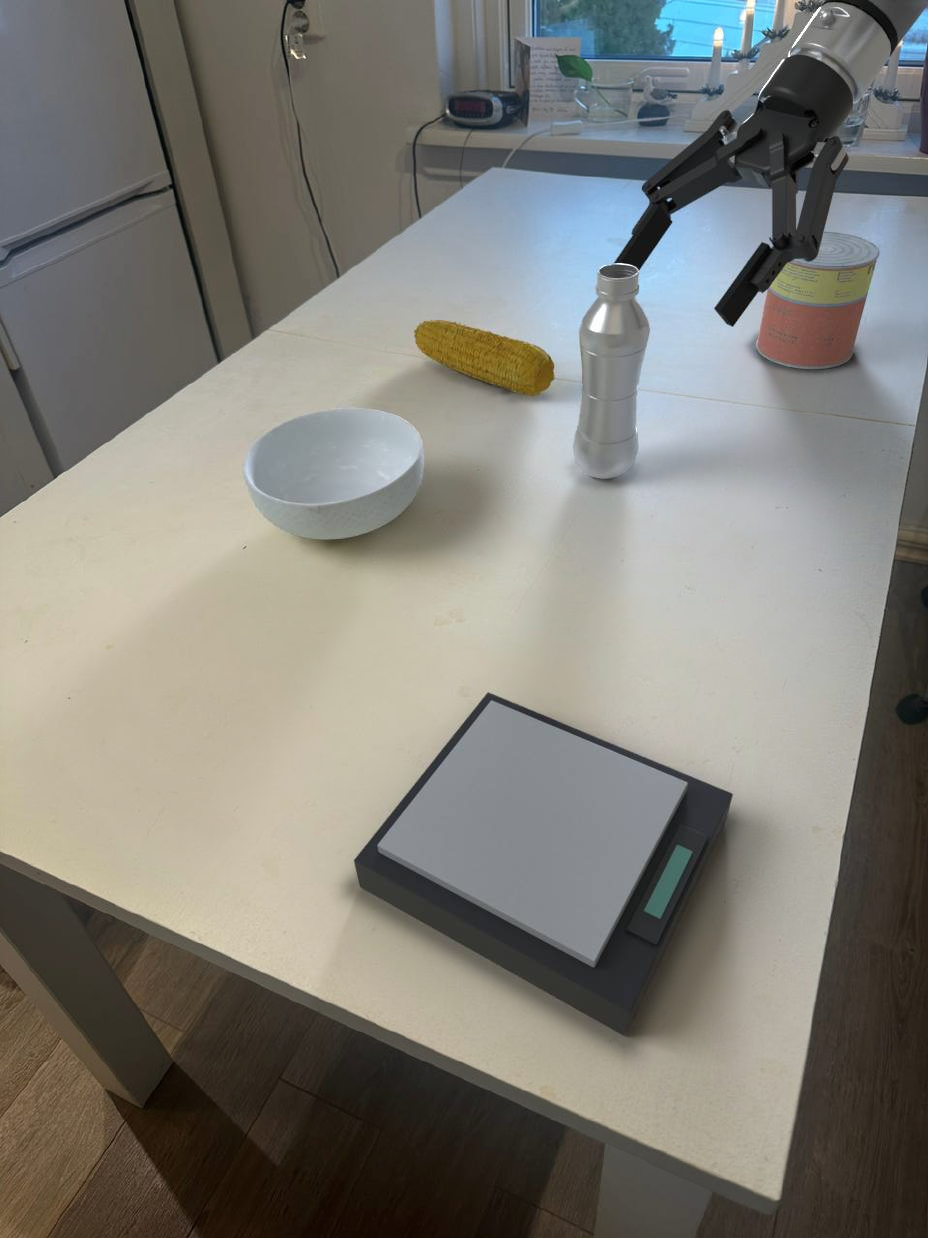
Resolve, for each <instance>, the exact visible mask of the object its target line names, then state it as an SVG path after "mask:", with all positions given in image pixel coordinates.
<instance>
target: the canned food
mask: <svg viewBox="0 0 928 1238" xmlns="http://www.w3.org/2000/svg"><path fill="white" fill-rule="evenodd" d="M879 257H880V249H879V247H878V246H877V245H876V244H875V243H873V242H872V241H870V240H868V239H865V238H863V237H860V236H856V235H852V234H848V233H842V232H834V231H824V232H823V236H822V240H821V244H820V248H819V252H818V255H817V257H816V258H815V259H814V260H813V261H810V262H807V261H805V260H804V259H793V260H792V261H791V262H788V263H787V264H786V265H785V266H784V268H783V269H782V271H781V272H780V273H779V275H778V276H777V277H776V278H775V280H774V281H773V282H772V284H771V286H770V287H769V288H768V289H767V290H766V294H765V298H764V299H765V300H764V304H763V310H762V313H761V314H762V315H761V320H760V326H759V331H758V336H757V340H756V343H755V349H756V351H757V352H758V353H759V354H760V355H761V356H762V357H763V358H764V359H766V360H768V361H770V362H772V363H775V364H777V365H781V366H783V367H788V368H793V369H799V370H800V369H801V370H824V369H825V370H826V369H831V368H836V367H838V366H841V365H844V364H845V363H847V362H849V361H850V360H851V358H852V357H853V354H854V347H855V342H856V339H857V336H858V331H859V328H860V325H861V320H862V317H863V313H864V310H865V306H866V302H867V299H868V298H867V297H868V295H869V290H870V288H871V287H870V286H871V283H872V279H873V275H874V272H875V268H876V265H877V262H878V261H877V260H878V258H879Z"/></svg>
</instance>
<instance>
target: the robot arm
mask: <svg viewBox="0 0 928 1238" xmlns="http://www.w3.org/2000/svg"><path fill="white" fill-rule="evenodd" d="M927 7H928V0H823V1H822V3H820V6H819V7H818V9H817V10H816V11H815V13H814V14H813V16H812V17H811V19H810V20H809V22H808V23H807V24H806V25H805V27H804V29H803V30H802V32H801V33H800V35H799V36H798V37H797V39H796V40H795V42H794V44H793V45H792V47H791V48H790V50H789V52H788V56H787V57H784V58H783V59H782V60H781V62H780V63H779V64H778V65H777V67H776V69H775V70H774V72H773V73H772V74H771V76H770V78H769V79H768V80H767V81H766V83H765V85H764V86H763V88H761V91H760V92H759V95H758V100H757V104H756V108H755V110H754V112H753V113H752V114H751V115H750V117H748V118H747V119H746V120H745V121H741V120H738V119H736V118H734V116H733V114H732V113H731V111H730V110H729V109H725V110H722V111H721V113H719V115H718V116H717V117H716V118H715V119H714V121H713V122H712V124H711V125H709V127H708V129H706V131H705V132H703V133H702V134H701V135H700V136H699V137H697V138H696V139H695V140H693V141H692V142H691V143H690V144H689V145H687V146H686V147H685V148H684V149H683V150H682V151H680V152H679V153H678V154H677V155H675V156H674V157H673V158H672V159H671V160H670V161H669V162H667V163H666V164H665V165H664V166H663V167H661V168H660V169H659V170H658V171H657V172H655V173H654V174H653V175H651V176H650V177H649V178H648V179H647V180H646V181H645V182H644V183H642V185H641V191H642V193H643V194H644V195H645V196H646V198H647V199H648V206H647V207H646V209H645V210H644V212H643V213H642V214H641V216H640V217H639V219H638V220H637V222H636V224H634V226H633V228H632V230H631V233H630V234H631V237H630V238H629V240H628V241H627V243H626V244H625V246H624V247H623V249H622V250H621V252H620V253H619V255H618V256H617V258H615V260H614V262H613V263H612V264H629V265H632V266H635V267H637V268H638V270H639V271H640V270H641V269H642V267H643V266H644V265H645V263H646V262H647V260H648V259H649V257H650V256H651V254H652V253H653V252H654V250H655V249H656V247H657V246H658V244H659V243H660V241H661V240H662V238H663V237H664V236H665V234H666V233H667V231H668V230H669V228H670V227H671V225H672V224H673V220H672V216H671V215H673V214H675V213H676V212H678V211H680V210H681V209H683V208H685V207H687V206H689V205H690V204H692V203H694V202H696V201H697V200H699V199H701V198H702V197H704V196H706V195H708V194H709V193H711V192H713V191H715V190H716V189H718V188H720V187H721V186H723V185H725V184H727V183H729V184H734V183H736V182H739V181H740V180H742V179H743V181H745V182H748V183H759V184H760V185H761V186H762V187H765V188H768V189H770V188H771V205H772V206H771V236H769V237H768V239H769V242H770V243H771V244H772V247H771V246H770V244H769V243H766V242H764V241H761V242H760V244H759V245H758V246H757V248H756V249H755V251H754V252H753V253H752V255H751V256H750V257H749V259H748V261H747V262H746V263H745V265H744V266H743V268H741V270H740V271H739V272H738V274H737V276H736V277H735V278H734V280H733V282H732V283H731V284H730V286H729V287H728V288H727V290H726V291H725V292H724V294H723V295H722V297H721V298H720V299H719V301H718V302H717V303H716V305H715V306H714V308H713V309H714V310H715V312H716V313H717V314H718V316H719V317H720V318H721V319H722V321H723V322H724V323H725V324H726V325H728V326H730V327H732V328H733V327H734V326H735V325H736V324H737V322H738V321H739V319H740V318H741V317H742V315H743V314H744V313H745V311H746V310H747V309H748V307H749V305H750V304H752V301H753V300H754V299H755V297H756V296H757V295H758V293H761V294H763V293H765V292H767V289H768V288H769V287H770V286H771V284H772V282H773V281H774V280H775V278H776V277H777V276H778V275H779V273H780V272H781V271H782V269H783V268H784V266H785V265H786V264H787V263H788V262H791V261H792V260H793V259H804V260H805V261H807V262H810V261H813V260H814V259H815V258H816V257H817V255H818V252H819V248H820V244H821V240H822V236H823V232H825V229H826V224H827V220H828V216H829V213H830V208H831V204H832V200H833V196H834V192H835V188H836V183H837V181H838V179H839V177H840V175H841V174H842V172H843V170H844V169H845V167H846V166H847V164H848V162H849V160H850V159H849V155H848V153H847V151H846V148H845V146H844V144H843V142H842V140H841V138H840V137H839V136H837V135H836V133H837V132H838V131H839V129H840V128H841V127H842V125H843V124H844V123H845V121H846V119H847V118H848V117H849V115H850V114H851V112H852V111H853V110H854V109H853V108H854V105H855V104H858V103H859V101H861V99H862V98H863V97H864V95H865V94H866V92H867V91H868V89H869V88H870V87H871V85H872V84H873V83H874V81H875V79H876V78H877V77H878V75H879V74H880V72H881V71H882V69H884V67H885V65H886V63H887V62H888V61H889V59H890V58H891V56H893V53H894V52H895V50H896V49H897V47H898V46H899V44H900V43H901V42H902V40H903V39H904V38H905V37H906V35H907V34H908V32H909V31H910V29H911V28H912V27H913V26H914V25H915V23H916V22H917V21H918V19H919V18H920V17H921V15H922V14H923V12H924V11H925V10H926V9H927ZM733 157H734V159H733V160H734V161H733V162H734V164H733V162H732V161H731V158H733ZM811 164H813V165H812V168H811V171H810V175H809V179H808V183H807V187H806V191H805V195H804V199H803V203H802V207H801V211H800V214H799V218H798V222H797V195H798V193H799V180H798V179H799V172H800V171H801V170H803V169H805V168H806V167H807V166H810V165H811ZM669 199H670V200H669ZM668 200H669V201H668Z"/></svg>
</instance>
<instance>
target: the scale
mask: <svg viewBox="0 0 928 1238" xmlns="http://www.w3.org/2000/svg"><path fill="white" fill-rule="evenodd" d="M432 760H433V761H432V762H431V763H430V764H429V765H428V766H427V768H426V769H425V770H424V771H423V773H422V774H421V775H420V777H419V778H418V779H417V781H416V782H415V783H414V784H413V785H412V787H411V788H410V789H409V790H408V792H407V793H406V794H405V795H404V797H403V798H402V799H401V800H400V802H398V804H397V806H395V807H394V809H393V811H392V812H391V813H390V814H389V816H388V817H387V818H386V819H385V821H384V822H383V823H382V824H381V826H380V827H379V828H378V829H377V830H376V832H375V833H374V834H373V836H372V837H371V838H370V839H369V840H368V842H367V843H366V845H365V846H363V848H362V849H361V851H360V852H358V854H357V855H356V857H355V858H354V859H353V863H354V868H355V872H356V876H357V880H358V885H359V887H360V888H361V889H363V890H365V891H366V892H368V893H370V894H371V895H374V896H376V898H379V899H380V900H382V901H384V902H386V903H388V904H389V905H392V906H393V907H395V908H396V909H398V910H400V911H402V912H404V913H405V914H407V915H409V916H411V917H412V918H414V919H416V920H417V921H419V922H422V923H423V924H425V925H427V926H429V927H430V928H432V929H434V930H436V931H437V932H439V933H441V934H443V935H444V936H446V937H448V938H450V939H451V940H453V941H455V942H457V943H459V944H461V946H464V947H466V948H467V949H469V950H471V951H473V952H475V953H476V954H478V955H480V956H482V957H484V958H485V959H487V960H489V961H491V962H492V963H494V964H496V965H498V966H500V967H501V968H503V969H505V970H506V971H508V972H510V973H512V974H514V975H515V976H518V977H519V978H521V979H523V980H524V981H526V982H527V983H530V984H531V985H533V986H535V987H536V988H538V989H540V990H541V991H544V992H546V993H547V994H549V995H551V996H552V997H555V998H556V999H558V1000H559V1001H561V1002H564V1003H565V1004H567V1005H568V1006H570V1007H572V1008H574V1009H576V1010H578V1011H579V1012H581V1013H582V1014H584V1015H586V1016H588V1017H590V1018H591V1019H594V1020H595V1021H597V1022H599V1023H600V1024H602V1025H604V1026H606V1027H608V1028H610V1029H611V1030H612V1031H615V1032H617V1033H619V1034H620V1035H622V1036H624V1037H626V1036H627V1034H628V1032H629V1030H630V1027H631V1025H632V1024H633V1021H634V1020H635V1017H636V1015H637V1013H638V1010H639V1009H640V1006H641V1004H642V1002H643V1000H644V998H645V995H646V994H647V991H648V989H649V988H650V985H651V983H652V981H653V978H654V976H655V974H656V972H657V970H658V968H659V965H660V964H661V961H662V959H663V957H664V955H665V953H666V951H667V949H668V946H669V944H670V942H671V940H672V938H673V935H674V933H675V931H676V928H677V927H678V925H679V923H680V920H681V918H682V916H683V914H684V912H685V910H686V908H687V905H688V903H689V901H690V899H691V897H692V895H693V893H694V890H695V888H696V887H697V884H698V882H699V880H700V878H701V875H702V873H703V871H704V869H705V867H706V865H707V862H708V861H709V858H710V856H711V854H712V852H713V850H714V848H715V846H716V844H717V842H718V839H719V837H720V835H721V833H722V831H723V828H724V827H725V824H726V822H727V818H728V815H729V811H730V807H731V803H732V799H733V795H734V794H733V793H732V792H729V791H727V790H725V789H723V788H720V787H718V786H716V785H712V784H710V783H708V782H706V781H704V780H701V779H699V778H696V777H693V776H691V775H689V774H686V773H684V772H681V771H679V770H676V769H674V768H672V767H670V766H667V765H664V764H663V763H660V762H658V761H655V760H653V759H650V758H648V757H646V756H643V755H641V754H639V753H636V752H633V751H632V750H629V749H626V748H624V747H621V746H619V745H617V744H614V743H612V742H609V741H607V740H605V739H602V738H600V737H597V736H595V735H592V734H590V733H587V732H585V731H583V730H581V729H578V728H575V727H573V726H571V725H569V724H566V723H564V722H561V721H559V720H556V719H554V718H552V717H549V716H547V715H545V714H543V713H539V712H537V711H535V710H532V709H530V708H528V707H525V706H523V705H520V704H518V703H516V702H514V701H511V700H508V699H506V698H503V697H501V696H499V695H496V694H493V693H492V692H489V691H488V692H487V693H485V695H484V697H483V698H482V699H481V700H480V701H479V702H478V704H477V705H476V706H475V708H474V709H473V710H472V711H471V712H470V714H469V715H468V716H467V718H466V719H465V720H464V722H463V723H462V724H461V725H460V726H459V728H458V729H457V730H456V731H455V732H454V734H453V735H452V736H451V737H450V739H449V740H448V741H447V742H446V744H445V745H444V746H443V748H442V749H441V750H440V751H439V752H438V754H437V755H436V757H434V759H432Z"/></svg>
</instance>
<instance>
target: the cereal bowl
mask: <svg viewBox="0 0 928 1238" xmlns="http://www.w3.org/2000/svg"><path fill="white" fill-rule="evenodd" d="M424 470H425V452H424V445H423V439H422V437H421V434H420V433H419V431H418V430H417V429H416V427H415V426H414V425H413V424H412V423H411V422H409V421H408V420H406V419H405V418H402V417H401V416H399V415H396V414H394V413H390V412H387V411H383V410H378V409H372V408H364V407H363V408H362V407H338V408H329V409H324V410H323V409H322V410H317V411H313V412H308V413H305V414H302V415H299V416H296V417H292V418H290V419H288V420H285V421H283V422H281V423H279V424H277V425H275V426H273V427H272V428H270V429H268V430H267V431H266V432H264V433H263V434H262V435H261V436H259V437H258V438H257V439H256V440H255V441H254V442H253V443H252V445H251V446H250V447H249V448H248V450H247V451H246V454H245V457H244V459H243V464H242V474H243V478H244V482H245V485H246V487H247V491H248V493H249V496H250V498H251V501H253V503H254V506H255V507H256V508H257V510H258V512H259V513H260V514H261V515H262V516H263V517H264V518H265V519H266V520H267V521H268V522H269V523H271V524H272V525H274V526H275V527H277V528H278V529H280V531H281V530H282V531H283V532H285V533H289V534H291V535H294V536H297V537H300V538H305V539H312V540H323V541H326V540H340V539H342V540H343V539H349V538H353V537H358V536H361V535H365V534H367V533H371V532H373V531H375V530H377V529H379V528H382V527H383V526H386V525H387V524H388V523H390V522H392V521H393V520H394V519H396V518H397V517H398V516H399V515H401V514H402V513H403V512H404V511H406V509H408V507H409V505H411V503H412V502H413V500H414V499H415V498H416V495H417V494H418V492H419V490H420V488H421V486H422V485H421V484H422V482H423V476H424Z"/></svg>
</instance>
